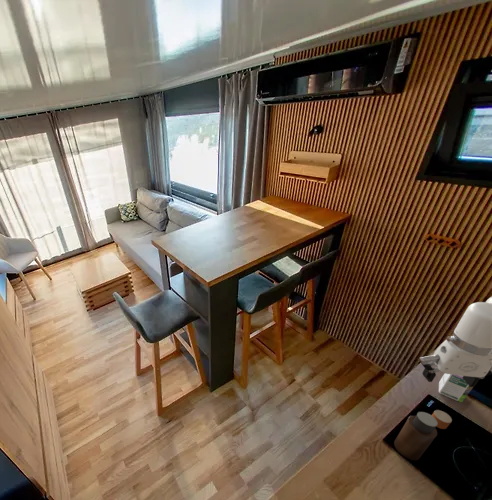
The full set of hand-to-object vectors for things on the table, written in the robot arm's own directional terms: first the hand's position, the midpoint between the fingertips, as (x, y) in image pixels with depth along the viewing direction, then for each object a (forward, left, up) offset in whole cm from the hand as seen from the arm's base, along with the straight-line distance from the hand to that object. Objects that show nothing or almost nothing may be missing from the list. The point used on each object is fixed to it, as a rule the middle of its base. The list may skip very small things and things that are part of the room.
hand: (446, 380), depth 79 cm
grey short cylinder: (+3, +15, -7) cm, 17 cm away
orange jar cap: (-4, -1, -21) cm, 22 cm away
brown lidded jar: (+3, +15, -21) cm, 26 cm away
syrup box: (-7, -17, -21) cm, 28 cm away
